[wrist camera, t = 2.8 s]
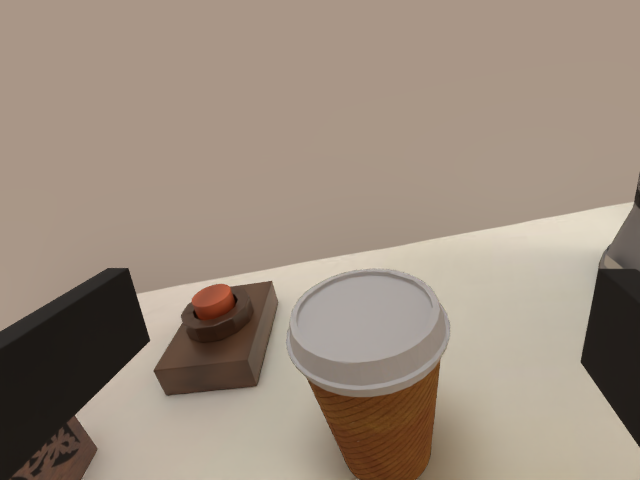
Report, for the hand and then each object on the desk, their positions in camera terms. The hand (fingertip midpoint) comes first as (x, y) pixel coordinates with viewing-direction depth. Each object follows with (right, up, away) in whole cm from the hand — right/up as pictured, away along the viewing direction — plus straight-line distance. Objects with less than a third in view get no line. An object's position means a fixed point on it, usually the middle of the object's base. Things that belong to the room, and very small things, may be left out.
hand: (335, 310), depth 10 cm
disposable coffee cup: (+4, -13, +16) cm, 21 cm away
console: (-10, -9, +29) cm, 32 cm away
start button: (-11, -5, +27) cm, 30 cm away
